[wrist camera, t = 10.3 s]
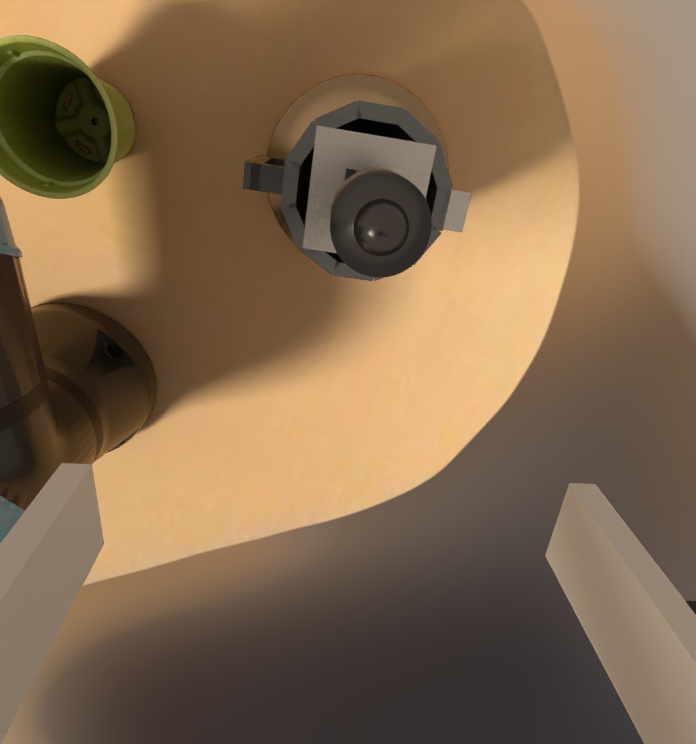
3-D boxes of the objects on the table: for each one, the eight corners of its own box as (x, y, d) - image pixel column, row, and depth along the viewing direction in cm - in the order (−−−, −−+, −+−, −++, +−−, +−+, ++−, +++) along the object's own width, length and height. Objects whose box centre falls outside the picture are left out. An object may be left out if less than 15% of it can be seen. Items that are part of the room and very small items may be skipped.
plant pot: (128, 208, 43) (84, 226, 36) (17, 140, 41) (-57, 144, 33) (177, 104, 40) (140, 99, 32) (59, 24, 38) (-12, -3, 30)
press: (257, 254, 45) (231, 299, 33) (272, 58, 39) (247, 28, 27) (425, 278, 47) (457, 330, 35) (466, 93, 40) (523, 79, 28)
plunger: (309, 220, 41) (289, 302, 22) (320, 125, 38) (309, 125, 19) (394, 233, 42) (446, 324, 23) (411, 140, 39) (488, 155, 20)
